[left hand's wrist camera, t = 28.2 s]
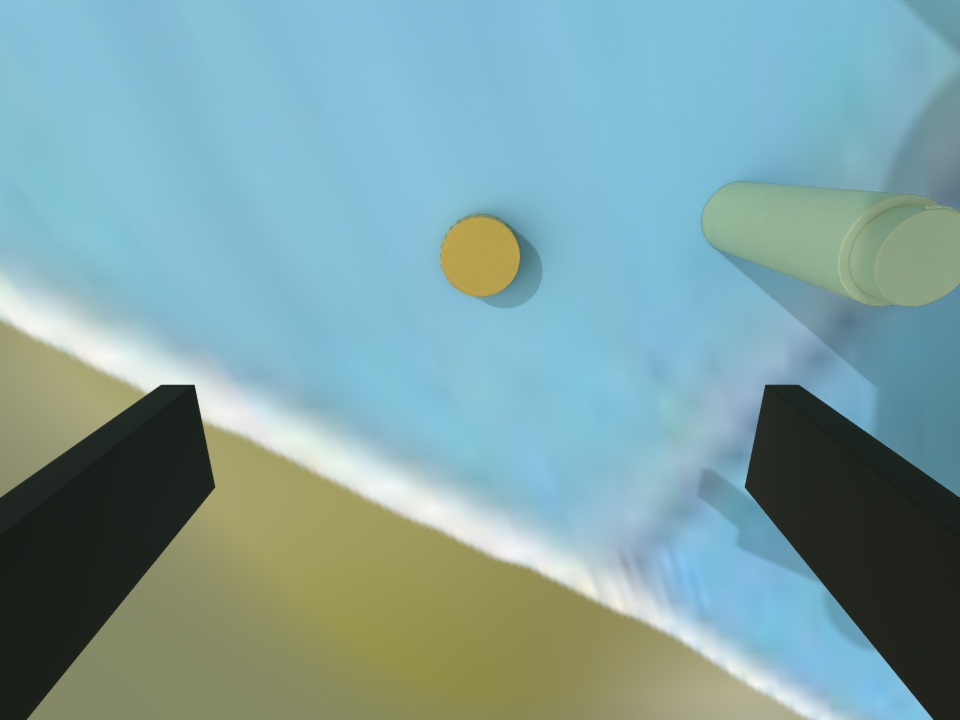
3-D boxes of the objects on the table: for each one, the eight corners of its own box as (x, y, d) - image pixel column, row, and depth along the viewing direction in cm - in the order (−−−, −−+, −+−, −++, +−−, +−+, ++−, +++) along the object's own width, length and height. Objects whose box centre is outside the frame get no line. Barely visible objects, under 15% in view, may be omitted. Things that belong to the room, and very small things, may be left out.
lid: (477, 196, 37) (477, 198, 35) (535, 251, 39) (538, 255, 37) (425, 255, 39) (423, 260, 37) (482, 306, 40) (483, 313, 38)
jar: (767, 248, 39) (973, 311, 22) (699, 255, 39) (856, 321, 23) (773, 178, 37) (1002, 191, 21) (703, 184, 37) (875, 203, 21)
